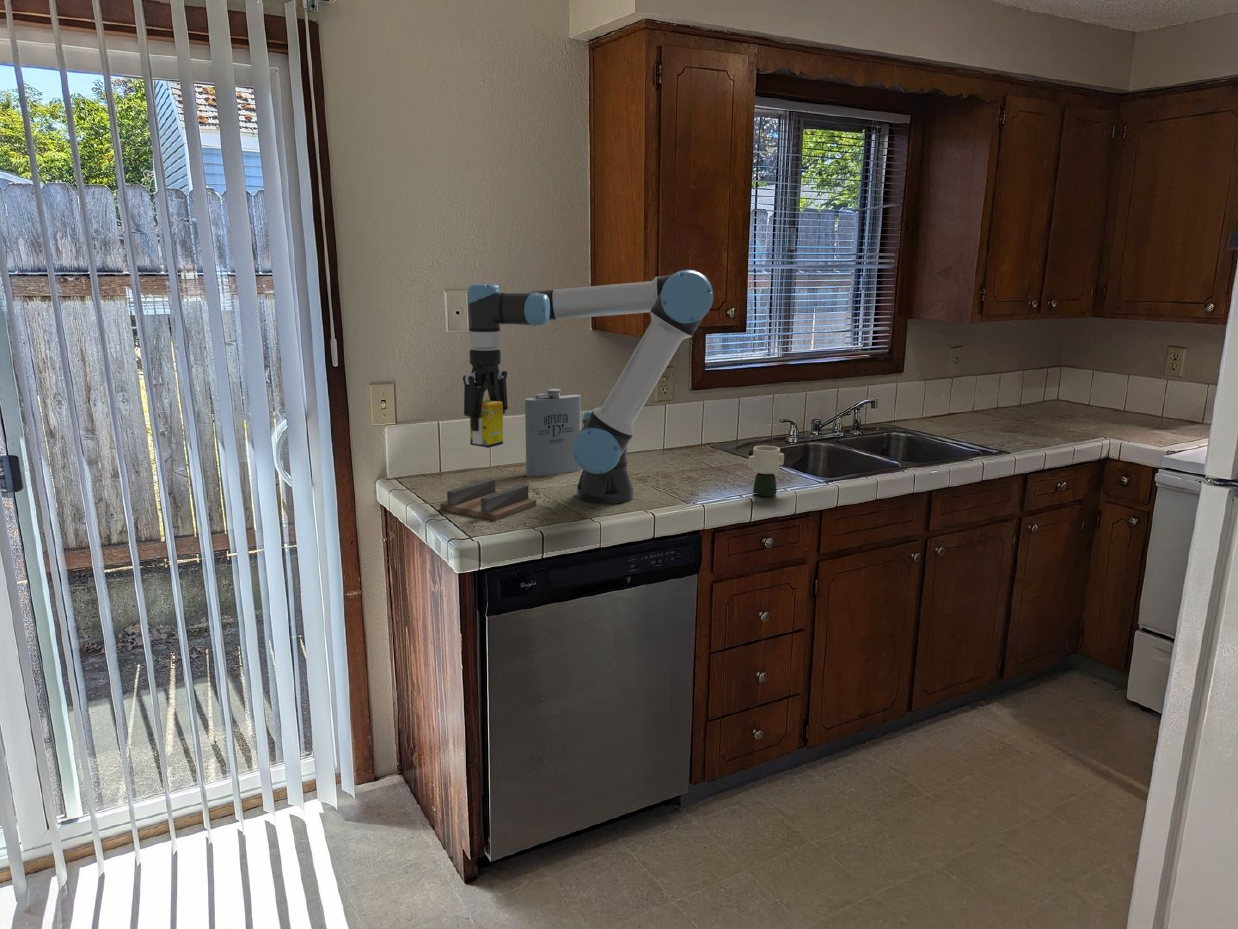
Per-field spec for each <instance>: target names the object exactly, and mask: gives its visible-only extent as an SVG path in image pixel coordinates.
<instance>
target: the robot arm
mask: <svg viewBox="0 0 1238 929" xmlns="http://www.w3.org/2000/svg"><path fill="white" fill-rule="evenodd" d="M467 296H468V298H467V300H468V302H467V310H468V311H467V314H468V334H469V335H468V336H469V337H468V342H469V343H468V344H469V347H470V350H469V352H468V353H469V364H470V365H471V366H472V367H471V371H470V374H468V375H463V376H462V380H463V384H464V390H463V391H464V392H463V395H464V397H463V415H464V416H465V417H468V418H469V419H470V418H471V430H472V435H473V443H475V444H483V426H482V418H479V417H480V413H481V407H482V402H483V400H484V397H485V392H486V391H487V394H488V397H489V400H491V401H498V402H503V415H504V414H506V411H507V410H508V408H509V406H508V393H507V391H508V389H507V378H508V372H507V371H506V370H500V369H499V365H500V364H501V361H502V360H501V358H502V356H501V350H500V347H501V346H502V345H501V325H515V326H516V325H517V326H520V325H521V326H533V327H535V326H545V325H547V324H548V323H549V321H555V320H565V319H566V320H567V319H581V318H592V317H606V316H619V315H630V314H632V315H633V314H644V313H646V314H647V313H649V315H650V318H651V319H650V320H651V321H650V324H649V325H648V327H647V329H646V330H645V333H644V334H643V335H642V338H641V339H640V340H639V343H638V344H637V346H636V347H635V349H634V351H633V353H632V354H631V357H630V358H629V359H628V361H627V363H626V364H625V367H624V368H623V370H622V372H621V373H620V375H619V377H618V379H617V381H616V382H615V384H614V386H613V387H612V389H611V391H610V392H609V394H608V396H607V398H606V399H605V401H604V403H603V404H602V405H601V406H600V407H595V408H593V409H592V411H591V410H588V411H585V412H584V413H583V417H582V419H581V421H582V422H581V423H583V424H582V428H581V431H580V433H579V434H578V435H577V436H576V438H575V439H574V442H573V456H574V459H575V461H576V463H577V464H578V465H579V466H580V467H581V470H582V471H581V475H580V477H579V481H578V483H577V487H576V498H577V499H578V500H580V501H583V502H587V503H591V504H600V505H601V504H605V505H606V504H607V505H609V504H611V505H612V504H619V503H623V502H625V503H626V502H628V501H630V500H632V499H633V498H634V485H633V483H632V479H631V476H630V474H629V470H628V444H629V443H630V441H631V440H632V438H633V436H634V434H635V429H634V425H633V424H634V422H635V421H636V419H637V417H638V416H639V414H640V412H641V410H642V409H643V408H644V406H645V404H646V402H647V401H648V399H649V398H650V396H651V394H652V392H653V391H654V389H655V388H656V385H657V384H658V382H659V381H660V379H661V378H662V375H663V374H664V372H665V371H666V369H667V368H668V365H669V364H670V362H671V360H672V358H673V357H674V355H675V353H676V352H677V350H678V349H679V347H680V345H681V344H682V342H683V341H684V340H685V339H689V338H693V336H694V334H695V332H696V331H697V329H698V327H699V326H700V324H701V323H702V321H703V319H704V317H705V316H706V315H707V314H708V313H709V312H710V310H711V309H712V305H713V303H714V289H713V286H712V284H711V282H710V280H709V279H708V277H707V276H706V275H705V274H703V273H701V272H700V271H699V270H698V271H697V270H693V269H682V270H679V271H676V272H675V273H673V274H668V275H663V276H662V275H661V276H655V277H654V278H653V280H651V281H650V280H649V281H640V282H638V281H637V282H629V283H616V284H604V285H593V286H582V287H569V288H559V289H546V290H531V291H528V292H516V293H515V292H513V293H511V292H509V293H508V292H501V290H500V286H499V285H498V284H495V283H493V284H491V283H473V284H470V286H469V287H468V295H467ZM475 412H476V413H475Z"/></svg>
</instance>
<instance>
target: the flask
mask: <svg viewBox="0 0 1238 929" xmlns="http://www.w3.org/2000/svg"><path fill="white" fill-rule="evenodd" d="M561 391H562V389H560V388H549V389H547V392H545V393H535V394H534V395H535V396H534V397H529V398H525V399H524V411H525V412H524V414H525V417H524V420H525V426H524V427H525V465H526V466H525V467H526V468H525V472H526V473H525V474H527V475H528V476H527V475H526V476H527V477H530V476H537V477H546V476H545V475H548V476H555V475H554V474H557V475H561V474H560V473H564V474H568V473H567V472H570V473H575V472H580V471H581V470H582V468H581V467H580V466H579V465H578V464H577V463H576V461H575V459H574V456H573V442H574V439H575V438H576V436H577V435H578V434H579V433H580V431H581V430H582V428H581V427H582V426H581V425H582V424H581V423H582V422H581V421H582V419H581V418H582V412H581V411H582V408H581V407H582V404H581V402H582V400H581V399H582V398H581V397H582V396H581V395H580V394H569V395H568V394H567V395H561Z"/></svg>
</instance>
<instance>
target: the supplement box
mask: <svg viewBox="0 0 1238 929" xmlns="http://www.w3.org/2000/svg"><path fill="white" fill-rule="evenodd" d="M475 413H476V412H475ZM479 418H482V426H483V444H475V443H473V435H472V430H471V418H470V417H469V437H470V438H469V439H470V440H469V443H470V445H471V446H476V447H481V448H482V447H483V448H486V449H489V448H494V447H497V446H500V445H504V414H503V402H498V401H491V400H490V399H484V398H483V402H482V407H481V413H480V417H479Z"/></svg>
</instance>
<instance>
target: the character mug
mask: <svg viewBox="0 0 1238 929" xmlns="http://www.w3.org/2000/svg"><path fill="white" fill-rule="evenodd" d="M752 450H753V451H752V452H753V454H752V455H750V456H749V457H748V462H747V465H748V469H752V470H753V472H756V475H755V478H754V484H753V492H752V494H755V495H758V496H759V497H761V496H764V497H772V496H775V495H777V479H776V475H775V474H776V473H779V470H780V466H782V465H784V464H785V463H784V462H785V454H784V453H782V452H781V448H780V447H778V446H773V445H756V446H754V447H753V449H752Z"/></svg>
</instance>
